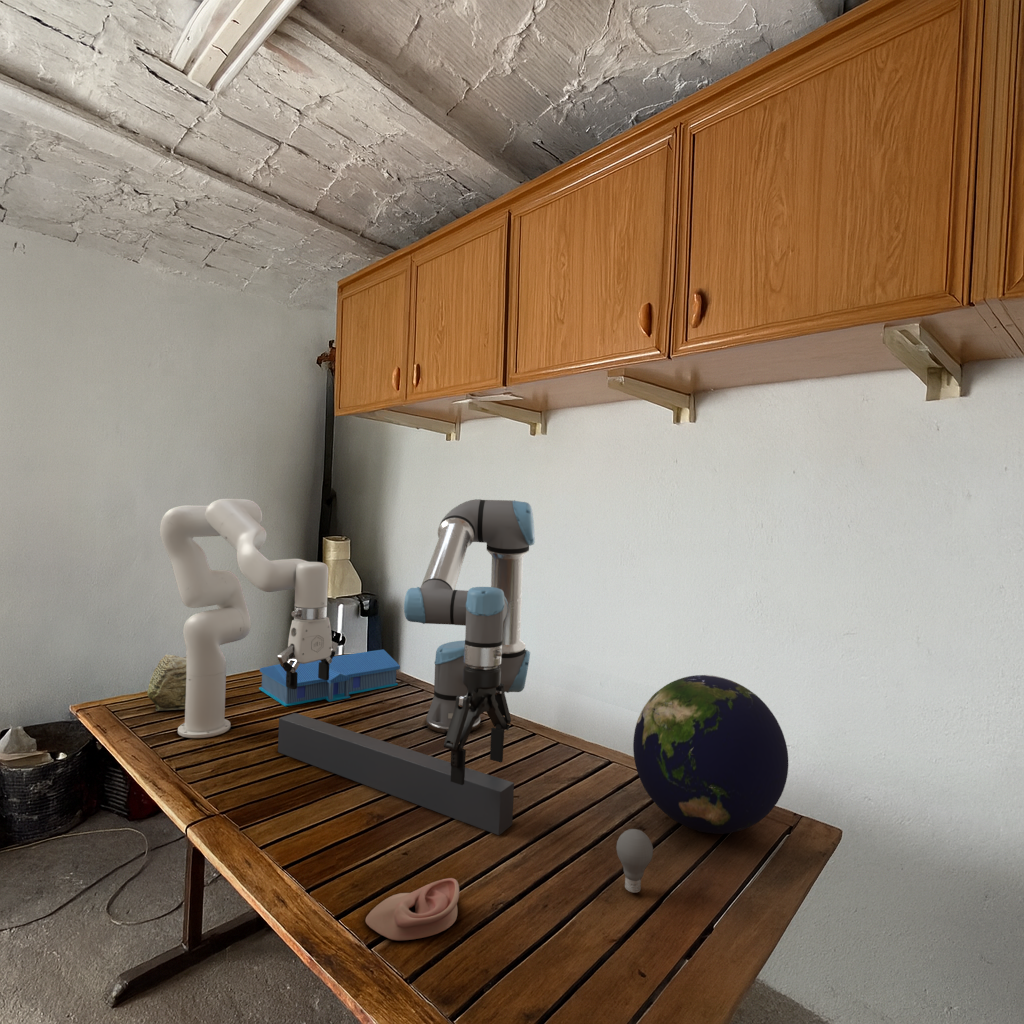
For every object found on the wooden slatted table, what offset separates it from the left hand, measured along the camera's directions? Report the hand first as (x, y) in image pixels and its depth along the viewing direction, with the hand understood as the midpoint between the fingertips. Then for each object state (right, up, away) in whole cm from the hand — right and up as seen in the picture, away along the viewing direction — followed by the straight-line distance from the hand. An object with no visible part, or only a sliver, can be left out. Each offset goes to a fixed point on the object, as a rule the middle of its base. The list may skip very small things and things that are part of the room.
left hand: (307, 683), depth 154 cm
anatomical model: (+34, -20, -57) cm, 70 cm away
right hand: (+43, -10, -27) cm, 51 cm away
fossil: (-47, -15, +31) cm, 58 cm away
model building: (-9, -16, +54) cm, 57 cm away
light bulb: (+70, -22, -48) cm, 87 cm away
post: (+21, -19, -13) cm, 31 cm away
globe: (+89, -22, -25) cm, 95 cm away
